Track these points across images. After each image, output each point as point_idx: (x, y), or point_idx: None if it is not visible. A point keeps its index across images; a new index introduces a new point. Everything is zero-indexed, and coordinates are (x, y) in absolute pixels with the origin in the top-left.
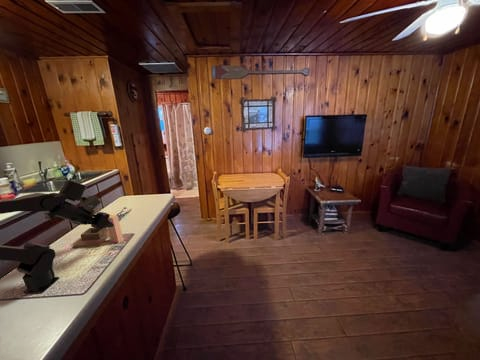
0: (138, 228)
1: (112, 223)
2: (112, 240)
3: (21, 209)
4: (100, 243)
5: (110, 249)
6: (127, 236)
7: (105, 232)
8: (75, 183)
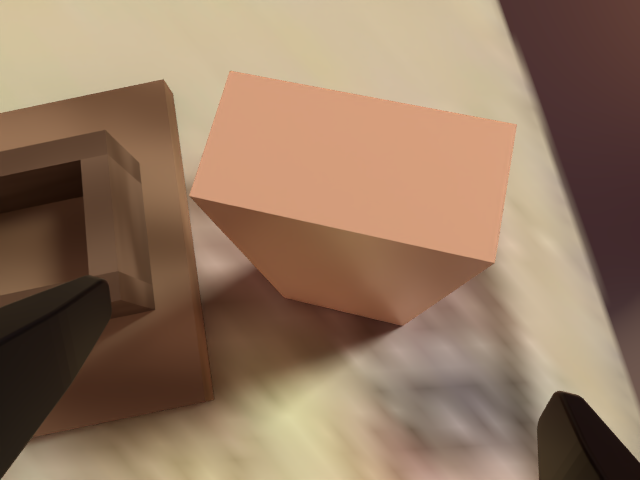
0: (413, 44)
1: (625, 454)
2: (309, 302)
3: None
4: (205, 364)
5: (402, 453)
6: None
7: (135, 191)
8: None
